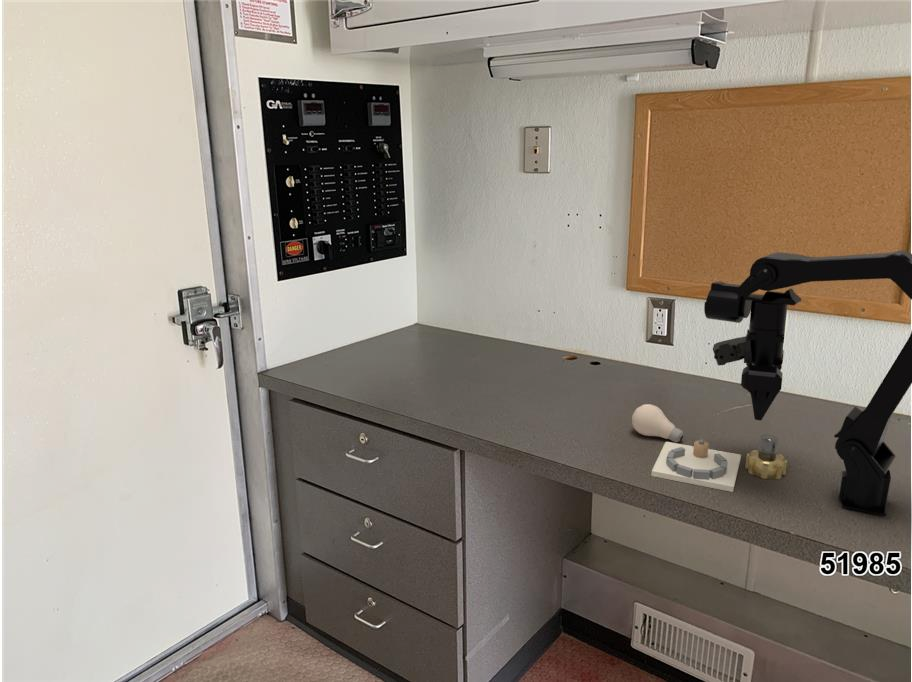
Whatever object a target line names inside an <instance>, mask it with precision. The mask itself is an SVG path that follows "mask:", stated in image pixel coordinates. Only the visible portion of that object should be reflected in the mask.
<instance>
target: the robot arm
mask: <svg viewBox="0 0 912 682" xmlns="http://www.w3.org/2000/svg"><path fill="white" fill-rule="evenodd" d="M881 279H882V280H883V279H890V280H891V281H892V282H893V283H894V284H896V286H898V287H899V289H900V290H901V291H902V292H903V293H904V294H905V295H906V296H907V297H908V298H909V299H910V300H911V301H912V253H911V252H909V251H907V250H896V251H893V252H892V251H891V252H880V253H879V252H878V253H864V254H849V255H847V254H846V255H832V256H831V255H829V256H810V255H809V256H808V255H803V254H798V253H789V252H788V253H787V252H777V251H776V252H773V253H770V254H767V255H765V256H762V257H760V258H758V259H756V260H755V261H754V262H753V264H752V265H751V267H750V270H749V275H748V276H747V278H746V279H745V280H744V281H742V283H741V284H734V283H733V284H732V283H727V282H723V281H715V282H714V281H713V282H711V285H710V290H709V291H708V293H707V296H706V301H704V306H703V307H704V309H703V311H704V316H705V318H706V319H707V320H715V321H723V322H728V323H729V322H730V323H736V324H737V323H738V324H740V323H742V321H743V320H744V319H748V317H749V324H748V325H749V327H748V329H747V331H746V335H745V336H740V337H734V338H731V339H730V338H729V339H726V340H722V341H719V342H716V343H714V345H713V347H712V351H713V354H714V355H713V359H715V361H716V365H717V366H724V365H726V364H729V363H733V362H737V361H742V360H743V364H746V367H744V368H743V369H742V373H741V379H740V380H741V381H740V386H741V387H742V388H743V389H744V390H746V391H747V392H748V393H749V394H750V398H751V405H752V410H753V411H752V412H753V417H754V420H755V421H762V420H763V419H764V417H765V415H766V414H767V412H768V410H769V409H770V407H771V405H772V403H773V402H774V401H775V399H776V398H777V396H778V394H779V393H780V392H781V390H782V383H783V372H782V366H783V363H784V351H785V350H784V343H785V333H786V324H787V323H786V322H787V312H788V306H796V305H798V304H799V303H801V302H802V298H801V297H800V296H799V295H798V294H797V293H796V292H795V290H794V289H793V288H789V287H795V286H797V285H801V284H807V283H811V282H832V281H833V282H834V281H855V280H856V281H857V280H859V281H860V280H881ZM784 288H789V289H787V290H786V291H785V292H781V291H776V290H780V289H784ZM759 290H761V291H764V292H765V291H766V292H765V293H763V294H757V293H756V292H758V291H759ZM754 293H755V294H754ZM911 386H912V330H911V331H910V335H909V337H908V339H907V340H906V342H905V343H904V346H903V347H902V348H901V350H900V352H899V353H898V355H897V356H896V359H895V360H894V362H893V363H892V365H891V367H890V368H889V369H888V372H887V373H886V374H885V376H884V378H883V380H882V381H881V383H880V385H878V387H877V389H876V390H875V392H874V394H873V396H872V397H871V399H870V401H868V404H867V406H865V408H864V409H863V410H862V409H860V408H858V407H857V406H854V407H853V408H851V410H850V411H849V413H848V414H847V415H846V416H845V418H844V420H843V423H842V426H841V427H840V428H839V429H838V430H837V431H836V433H835V434H834V435H833V437H834V438H837V439H836V441H835V445H834V448H835V450H836V453H837V455H838V456H839V458H840V459H841V460H842V461H843V464H844V468H845V470H843V471H841V473H840V479H839V484H838V491H837V493H838V499H839V500H840V501H841V503H840V505H841V507H842V508H843V509H847V510H853V511H858V512H863V513H868V514H873V515H879V516H884V517H885V516H887V515H888V510H887V502H888V498H889V497H888V496H889V491H890V487H891V479H892V475H891V471H890V470H889V469H890V467H891V465H892V464H893V462H894V460H895V459H896V457H897V456H896V455H895V453H894V452H893V451H892V449H890V447H889V446H888V445H887V444H886V442H885V441H884V440H885V439H886V438H885V437H886V435H887V432H888V430H889V426H890V422H891V420H892V415H894V412H895V411H896V409H897V407H898V406H899V404H900V403H901V402H902V400H903V398H904V396H905V395H906V394H907V392H908V390H909V389H910V387H911Z"/></svg>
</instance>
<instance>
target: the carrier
mask: <svg viewBox="0 0 912 682" xmlns="http://www.w3.org/2000/svg"><path fill="white" fill-rule="evenodd" d="M709 445H710V444H709V443H708V442H707V441H705V440H704V439H698V440H695V441H694V443H693V446H692V445H689V444H688V445H687V444H683V443H678V442H677V443H675V442H672V441H671V442H670V441H665V442H664V444H663V447H662V449H661V451H660V453H659V455H658V457H657V459H656V460H655V464H654V465H653V467H652V470H651V474H650V475H651V477H655V478H659V479H666V480H671V481H676V482H680V483H686V484H689V485H690V484H691V485H695V486H699V487H706V488H711V489H715V490H721V491H726V492H730V493H734V490H735V485H736V481H737V476H738V473H739V469H740V468H739V467H740V464H741V459H742V454H739V453H733V452H728V451H721V450H715V449H710V448H709Z"/></svg>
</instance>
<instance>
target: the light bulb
mask: <svg viewBox="0 0 912 682" xmlns="http://www.w3.org/2000/svg"><path fill="white" fill-rule="evenodd" d="M631 417H632V419H631V423H632V426H633V428H634V430H635V431H636V432H637V433H639V435H643V436H646V437H660V438H663V439H666V440H670V441H671V442H672V443H677V444H678V442H682V440H683V439H684V432H683V430H681V429H679V428H678V427H676V426H675V424H674V423H672V422H671V421H670V420H669V419H668V418H667V417H666V414H664V412H663V411H662V409H660V408H659V407H658V406H656V405H654V404H650V403H649V404H648V403H647V404H646V403H644V404H642V405H641V406H639V407H637V408H636V409H635V411H634V412H633V414H632V416H631Z"/></svg>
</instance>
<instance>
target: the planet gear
mask: <svg viewBox="0 0 912 682" xmlns="http://www.w3.org/2000/svg"><path fill="white" fill-rule="evenodd" d="M758 446H759V447H758V450H757V449H754V450H751V451H750V453H746V459H745V468H744V469H747V470H748V471H747V472H748V474H750V475H754V476H757V477H760V478H761V479H764V480H768V479H775V480H781V479H782V476H786V472H787V466H788V460H787V459H785V456H783V455H782V454H780V453H779V454H778V453H777V452H778V446H779V438H778V437H777V436H776V435H772V434H768V433H767V434H761V435H760V439H759V445H758Z"/></svg>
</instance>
